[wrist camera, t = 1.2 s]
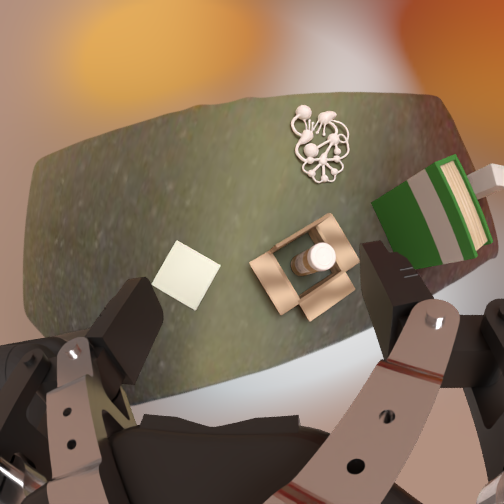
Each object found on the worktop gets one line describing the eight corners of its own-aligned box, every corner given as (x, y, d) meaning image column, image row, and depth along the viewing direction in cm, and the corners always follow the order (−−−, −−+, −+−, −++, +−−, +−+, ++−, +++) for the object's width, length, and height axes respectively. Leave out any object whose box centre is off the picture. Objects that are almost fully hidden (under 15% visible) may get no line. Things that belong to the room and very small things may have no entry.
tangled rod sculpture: (347, 190, 65) (356, 185, 61) (289, 180, 63) (295, 174, 59) (342, 121, 68) (349, 113, 64) (289, 108, 65) (295, 99, 61)
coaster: (195, 310, 56) (195, 310, 55) (152, 284, 56) (151, 284, 55) (220, 265, 58) (220, 265, 57) (177, 240, 58) (176, 240, 57)
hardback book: (421, 258, 64) (493, 241, 40) (401, 271, 63) (475, 257, 39) (392, 193, 65) (455, 154, 42) (371, 202, 64) (434, 162, 41)
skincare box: (471, 182, 71) (504, 165, 56) (476, 202, 70) (511, 187, 55) (456, 180, 70) (490, 161, 54) (461, 201, 69) (497, 185, 54)
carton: (358, 279, 61) (388, 275, 49) (285, 330, 57) (303, 338, 46) (322, 219, 62) (345, 202, 50) (246, 265, 58) (254, 257, 47)
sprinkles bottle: (311, 276, 60) (337, 270, 47) (289, 276, 59) (310, 270, 46) (311, 254, 60) (336, 242, 47) (289, 253, 60) (310, 241, 47)
